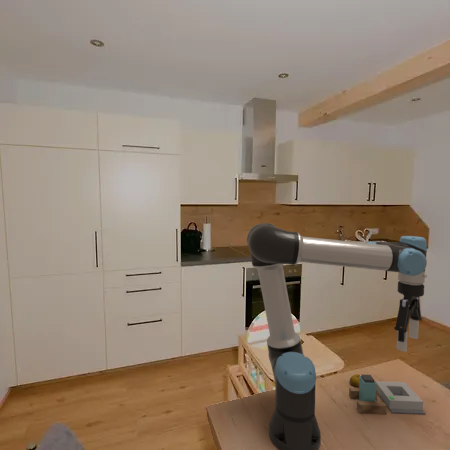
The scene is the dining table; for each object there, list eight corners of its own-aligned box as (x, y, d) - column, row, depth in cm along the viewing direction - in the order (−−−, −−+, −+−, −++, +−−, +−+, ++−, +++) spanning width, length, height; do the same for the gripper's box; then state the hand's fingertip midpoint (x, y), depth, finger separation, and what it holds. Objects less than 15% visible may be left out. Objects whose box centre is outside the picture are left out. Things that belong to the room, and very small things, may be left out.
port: (391, 413, 98) (392, 402, 98) (373, 387, 112) (373, 377, 112) (425, 414, 97) (426, 403, 97) (402, 388, 111) (403, 378, 111)
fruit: (371, 395, 108) (372, 386, 108) (347, 388, 112) (348, 379, 112) (373, 384, 115) (374, 375, 115) (351, 377, 119) (351, 369, 119)
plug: (363, 408, 101) (364, 380, 100) (358, 400, 105) (359, 373, 104) (375, 408, 100) (376, 380, 100) (370, 401, 104) (371, 374, 104)
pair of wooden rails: (359, 413, 98) (359, 404, 98) (349, 395, 107) (349, 387, 107) (386, 414, 98) (386, 405, 97) (374, 396, 107) (374, 388, 107)
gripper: (413, 291, 86) (409, 361, 87) (433, 278, 103) (429, 336, 105) (385, 286, 92) (382, 351, 93) (408, 274, 109) (405, 330, 110)
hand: (407, 343), depth 99 cm, fingers open, 13 cm apart
